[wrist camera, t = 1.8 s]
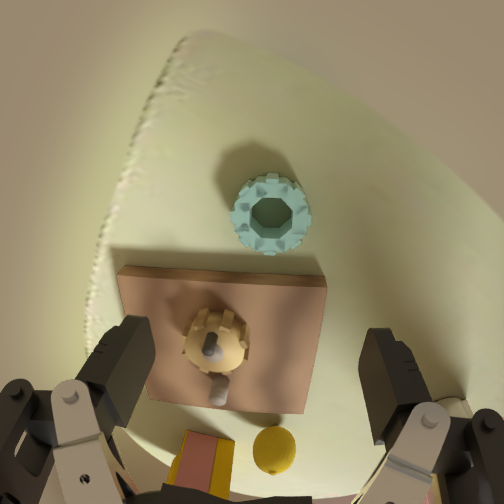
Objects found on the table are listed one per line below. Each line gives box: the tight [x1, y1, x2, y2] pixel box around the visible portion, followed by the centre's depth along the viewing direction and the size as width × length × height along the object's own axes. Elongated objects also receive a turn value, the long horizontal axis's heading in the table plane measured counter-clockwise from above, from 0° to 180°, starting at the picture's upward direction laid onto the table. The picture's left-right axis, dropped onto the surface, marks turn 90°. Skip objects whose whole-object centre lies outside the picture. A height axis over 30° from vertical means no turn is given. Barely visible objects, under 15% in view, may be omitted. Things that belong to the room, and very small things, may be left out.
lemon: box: [253, 425, 296, 475], centre depth 34 cm, size 6×6×8 cm
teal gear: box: [231, 173, 312, 256], centre depth 24 cm, size 6×6×2 cm
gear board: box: [117, 265, 327, 414], centre depth 29 cm, size 19×18×6 cm
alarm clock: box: [166, 430, 235, 500], centre depth 34 cm, size 15×8×18 cm, turn 166°
